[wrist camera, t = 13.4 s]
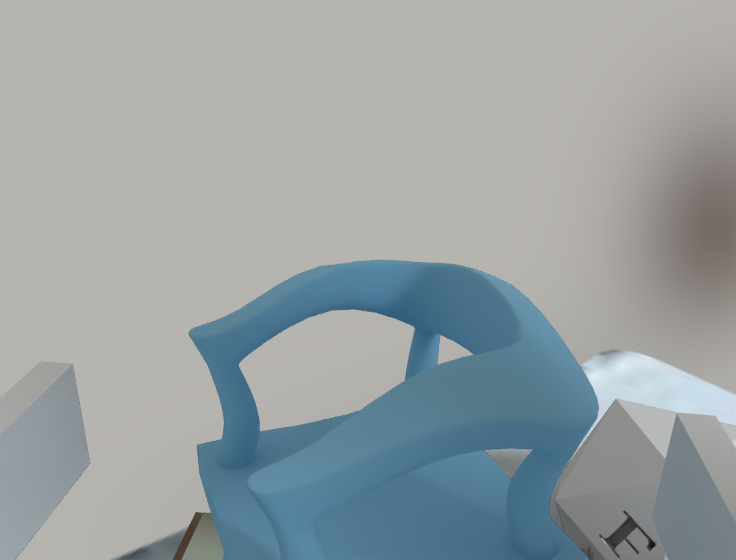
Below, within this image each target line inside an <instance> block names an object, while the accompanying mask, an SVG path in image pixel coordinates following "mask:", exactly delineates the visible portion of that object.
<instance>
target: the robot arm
mask: <svg viewBox="0 0 736 560" xmlns="http://www.w3.org/2000/svg"><path fill="white" fill-rule="evenodd" d="M89 464H90V459H89V453H88V448H87V442H86V437H85V431H84V425H83V419H82V414H81V408H80V402H79V396H78V391H77V385H76V379H75V373H74V368H73V364H66V363H53V362H40V363H38V364H37V365H36V366H35V367H34V368H33V369H32V370H31V371H29V372H28V373H27V374H26V375H25V376H24V377H23V378H22V379H21V380H19V381H18V382H17V383H16V384H15V385H14V386H13V387H12V388H10V389H9V390H8V391H7V392H6V393H5V394H4V395H3V396H1V397H0V560H16V558H17V557H18V556H19V555H20V553H21V552H22V551H23V549H24V548H25V547H26V546H27V544H28V543H29V542H30V540H31V539H32V538H33V537H34V535H35V534H36V532H37V531H38V530H39V529H40V527H41V526H42V525H43V524H44V522H45V521H46V520H47V518H48V517H49V516H50V514H51V513H52V512H53V511H54V509H55V508H56V507H57V505H58V504H59V503H60V502H61V500H62V499H63V498H64V496H65V495H66V494H67V493H68V491H69V490H70V489H71V487H72V486H73V485H74V484H75V482H76V481H77V480H78V478H79V477H80V476H81V474H82V473H83V472H84V471H85V469H86V468H87V467H88V465H89ZM652 519H653V522H654V525H655V527H656V530H657V532H658V535H659V538H660V540H661V543H662V545H663V548H664V551H665V553H666V556H667V559H668V560H736V448H735V447H734V445H733V443H732V442H731V440H730V439H729V437H728V435H727V434H726V432H725V431H724V429H723V427H722V426H721V424H720V423H719V421H718V419H717V418H716V416H710V415H698V414H686V413H676V417H675V422H674V426H673V430H672V434H671V438H670V442H669V446H668V451H667V455H666V459H665V463H664V467H663V471H662V476H661V480H660V484H659V488H658V492H657V496H656V501H655V505H654V509H653V513H652Z"/></svg>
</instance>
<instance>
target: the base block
mask: <svg viewBox="0 0 736 560" xmlns="http://www.w3.org/2000/svg"><path fill="white" fill-rule="evenodd" d="M580 550H581V551H582V552H583V553H584V554H585V555H586V556H587V557H588V555H587V551H586V549H581V548H580ZM223 555H224V551H223V548H222V544H221V541H220V538H219V535H218V532H217V529H216V526H215V523H214V520H213V517H212V514H211V513H198V512H196V513H195V515H194V517H193V519H192V521H191V523H190V525H189V527H188V529H187V532H186V534H185V536H184V538H183V540H182V542H181V544H180V546H179V548H178V550H177V552H176V554H175V556H174V558H173V560H223Z"/></svg>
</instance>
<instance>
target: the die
mask: <svg viewBox="0 0 736 560" xmlns="http://www.w3.org/2000/svg"><path fill="white" fill-rule="evenodd" d="M676 413H677V412H673V411H669V410H664V409H660V408H655V407H651V406H647V405H642V404H638V403H633V402H629V401H624V400H620V399H615V401H614V402H613V403H612V405H611V406H610V407H609V409H608V410H607V412H606V413H605V414H604V416H603V417H602V418H601V420H600V421H599V422H598V424H597V425H596V427H595V428H594V429H593V431H592V432H591V433H590V435H589V436H588V437H587V439H586V440H585V442H584V443H583V444H582V446H581V447H580V448H579V450H578V451H577V452H576V454H575V455H574V457H573V458H572V459H571V461H570V462H569V463H568V465H567V466H566V468H565V471H564V474H563V477H562V480H561V482H560V485H559V488H558V491H557V494H556V497H555V499H554V500H555V503H556V506H557V509H558V512H559V516H560V519H561V522H562V525H563V529H564V532H565V533H566V535H567V536H568V537H569V538H570V539H571V540H572V541H573V542H574V543H575V544H576V545H577V546H578V547H579V548H581V549H586V551H587V555H588V558H589V559H590V560H668V559H667V556H666V553H665V551H664V548H663V545H662V543H661V540H660V538H659V535H658V532H657V530H656V527H655V525H654V522H653V519H652V513H653V509H654V505H655V501H656V496H657V492H658V488H659V484H660V480H661V476H662V471H663V467H664V463H665V459H666V455H667V451H668V446H669V442H670V438H671V434H672V430H673V426H674V422H675V417H676ZM719 423H720V424H721V426H722V427H723V429H724V431H725V432H726V434H727V435H728V437H729V439H730V440H731V442H732V443H733V445H734V447H735V448H736V426H735V425H731V424H726V423H722V422H719Z"/></svg>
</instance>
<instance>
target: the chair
mask: <svg viewBox="0 0 736 560" xmlns="http://www.w3.org/2000/svg"><path fill="white" fill-rule="evenodd" d="M350 309H355V310H362V311H369V312H375V313H379V314H382V315H385V316H388V317H392V318H395V319H398V320H400V321H402V322H405V323H407V324H410V325H412V326H414V327H415V331H414V335H413V340H412V344H411V348H410V353H409V359H408V364H407V369H406V376H405V381H404V382H402V383H401V384H399V385H397V386H396V387H394V388H393V389H391V390H390V391H388V392H387V393H385V394H384V395H382V396H381V397H379V398H378V399H376V400H375V401H373V402H371V403H370V404H369V405H367V406H366V407H364V408H363V409H361V410H360V411H356V412H353V413H350V414H346V415H342V416H338V417H333V418H329V419H324V420H320V421H316V422H311V423H307V424H302V425H297V426H292V427H285V428H278V429H272V430H266V431H260V428H259V427H260V425H259V424H260V422H259V416H258V412H257V407H256V404H255V401H254V398H253V395H252V393H251V390H250V388H249V386H248V384H247V382H246V380H245V378H244V376H243V374H242V372H241V370H240V368H239V363H240V362H241V361H242V360H243V359H244V358H245V357H246V356H247V355H248V354H250V353H251V352H252V351H254V350H255V349H257V348H258V347H259V346H261V345H262V344H263V343H265V342H266V341H268V340H269V339H271V338H272V337H274V336H276V335H277V334H279V333H280V332H282V331H283V330H285V329H287V328H289V327H291V326H293V325H295V324H296V323H298V322H300V321H303V320H305V319H307V318H309V317H311V316H315V315H318V314H322V313H325V312H328V311H331V310H350ZM440 335H442V336H444V337H446V338H448V339H451V340H453V341H455V342H456V343H458V344H460V345H461V346H463V347H464V348H466V349H467V350H469V351H470V352H471V353H472V354H474V355H471V356H466V357H462V358H459V359H456V360H452V361H449V362H445V363H442V364H439V365H437V363H438V351H439V342H440ZM189 336H190V338H191V339H192V341H193V342H194V344H195V346H196V347H197V349H198V350H199V352H200V354H201V355H202V356H203V358H204V360H205V361H206V363H207V365H208V367H209V370H210V373H211V376H212V378H213V381H214V384H215V386H216V389H217V392H218V395H219V398H220V402H221V406H222V410H223V417H224V429H223V436H222V439H221V440H217V441H212V442H207V443H203V444H199V445H197V453H198V463H199V473H200V477H201V480H202V484H203V487H204V491H205V494H206V497H207V501H208V504H209V508H210V511H211V514H212V517H213V520H214V523H215V526H216V529H217V532H218V535H219V538H220V541H221V544H222V548H223V551H224V555H223V560H590V559H589V558H588V557H587V556H586V555H585V554H584V553H583V552H582V551H581V550H580V548H579V547H578V546H577V545H576V544H575V543H574V542H573V541H572V540H571V539H570V538H569V537H568V536H567V535H566V533H565V532H564V531H563V530H562V529H561V528H560V527H559V526H558V525H557V524H556V523H555V522H554V521H553V520H552V518H551V517H550V508H549V504H550V499H551V495H552V491H553V488H554V486H555V484H556V482H557V479H558V477H559V476H560V474H561V472H562V471H563V469H564V467H565V466H566V464H567V463H568V462H569V460H570V459H571V457H572V456H573V454H574V453H575V451H576V450H577V448H578V446H579V444H580V443H581V441H582V440H583V438H584V437H585V435H586V434H587V432H588V431H589V429H590V428H591V426H592V425H593V423H594V422H595V420H596V419H597V416H598V410H599V406H598V400H597V397H596V395H595V392H594V390H593V387H592V385H591V384H590V382H589V380H588V378H587V377H586V375H585V373H584V371H583V370H582V368H581V367H580V365H579V364H578V362H577V361H576V359H575V358H574V356H573V354H572V353H571V352H570V350H569V349H568V347H567V346H566V344H565V343H564V341H563V340H562V338H561V337H560V336H559V334H558V333H557V332H556V330H555V329H554V328H553V326H552V325H551V324H550V322H549V321H548V320H547V319H546V317H545V316H544V315H543V314H542V313H541V312H540V311H539V310H538V308H537V307H536V306H535V305H534V304H533V303H532V302H531V301H530V300H529V299H528V298H527V297H526V296H525V295H524V294H522V293H521V292H520V291H519V290H518V289H516V288H515V287H514V286H513V285H511V284H509V283H507V282H505V281H503V280H501V279H499V278H496V277H495V276H492V275H490V274H487V273H485V272H482V271H479V270H476V269H473V268H469V267H465V266H460V265H455V264H444V263H424V262H410V261H396V260H371V261H356V262H351V263H343V264H335V265H326V266H319V267H316V268H314V269H311V270H308V271H305V272H302V273H299V274H297V275H295V276H293V277H292V278H290V279H288V280H286V281H284V282H282V283H280V284H278V285H277V286H275V287H274V288H272V289H271V290H269V291H268V292H266V293H264V294H263V295H261V296H259V297H258V298H257V299H255V300H253V301H252V302H250V303H249V304H247V305H245V306H244V307H242V308H241V309H239V310H237V311H235V312H233V313H231V314H229V315H227V316H225V317H223V318H220V319H218V320H215V321H212V322H210V323H207V324H204V325H201V326H198V327H195V328H193V329H191V330H190V331H189ZM508 448H515V449H533V450H532V452H531V453H530V454H529V455H528V456H527V458H526V459H525V460H524V461H523V463H522V464H521V465H520V467H519V468H518V470H517V471H516V473H515V475H514V476H513V478H512V480H511V479H510V478H509V477H508V475H507V474H506V473H505V472H504V471H503V470H502V469H501V468H500V467H499V466H498V465H497V464H496V462H495V461H494V460H493V459H492V458H491V457H490V456H489V455H488V454H487V453H486V452H485V451H484V450H489V449H508Z"/></svg>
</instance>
